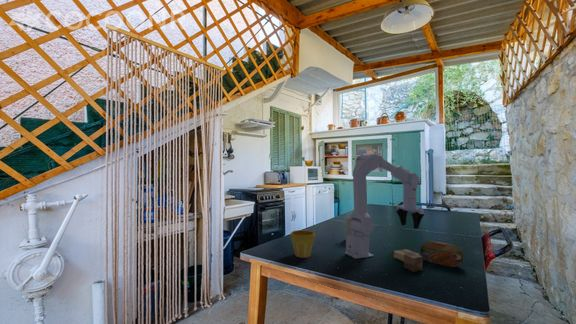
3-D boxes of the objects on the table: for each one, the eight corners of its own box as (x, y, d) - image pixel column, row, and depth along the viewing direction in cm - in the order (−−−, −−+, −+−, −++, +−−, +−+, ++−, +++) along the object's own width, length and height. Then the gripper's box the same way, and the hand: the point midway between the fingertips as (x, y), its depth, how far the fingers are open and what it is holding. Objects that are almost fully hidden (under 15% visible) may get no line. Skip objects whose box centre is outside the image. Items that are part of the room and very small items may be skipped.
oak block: (406, 263, 108) (406, 256, 108) (393, 258, 114) (393, 251, 115) (419, 261, 111) (419, 254, 111) (406, 256, 117) (406, 249, 117)
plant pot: (297, 250, 123) (297, 228, 123) (318, 254, 118) (318, 231, 118) (286, 256, 114) (286, 233, 114) (308, 261, 109) (308, 236, 109)
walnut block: (413, 271, 99) (413, 258, 99) (403, 267, 103) (403, 254, 103) (422, 270, 101) (422, 256, 101) (412, 265, 105) (412, 253, 105)
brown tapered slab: (420, 260, 111) (420, 239, 111) (422, 258, 114) (422, 238, 114) (462, 269, 101) (462, 247, 101) (464, 267, 104) (464, 245, 104)
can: (356, 243, 134) (356, 219, 134) (342, 241, 139) (342, 217, 139) (362, 240, 140) (362, 217, 140) (348, 237, 145) (349, 215, 145)
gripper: (429, 199, 123) (428, 229, 122) (404, 196, 136) (404, 223, 136) (417, 200, 120) (417, 230, 120) (393, 196, 133) (393, 224, 133)
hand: (409, 226), depth 128 cm, fingers open, 7 cm apart
